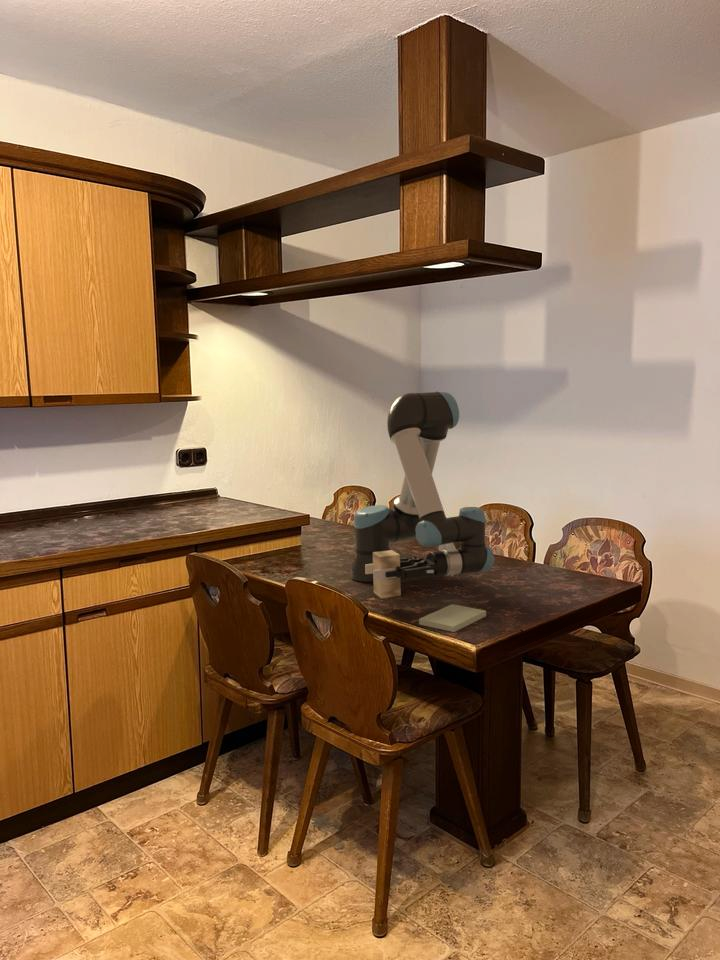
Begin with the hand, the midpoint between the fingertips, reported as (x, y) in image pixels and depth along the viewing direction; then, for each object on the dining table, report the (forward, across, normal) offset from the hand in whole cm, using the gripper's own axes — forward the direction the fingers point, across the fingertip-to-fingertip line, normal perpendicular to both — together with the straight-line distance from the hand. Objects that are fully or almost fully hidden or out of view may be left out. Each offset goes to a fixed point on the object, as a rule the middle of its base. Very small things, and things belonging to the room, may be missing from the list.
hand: (369, 572), depth 208 cm
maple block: (-5, 0, -7) cm, 9 cm away
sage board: (-17, -18, -11) cm, 27 cm away
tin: (-47, +44, -12) cm, 65 cm away
